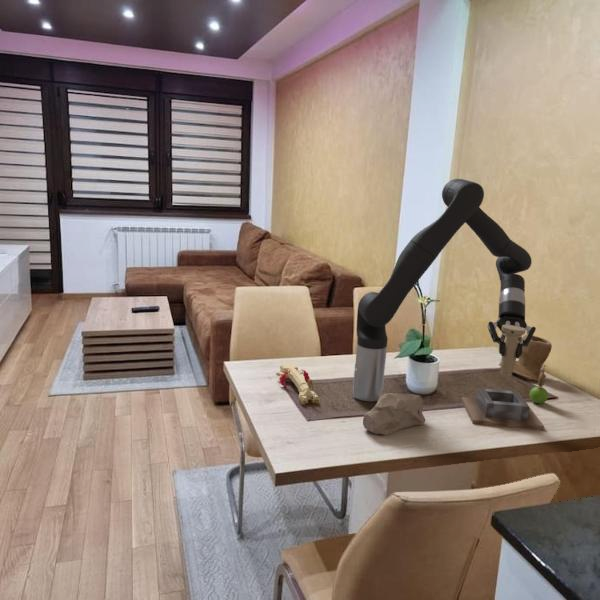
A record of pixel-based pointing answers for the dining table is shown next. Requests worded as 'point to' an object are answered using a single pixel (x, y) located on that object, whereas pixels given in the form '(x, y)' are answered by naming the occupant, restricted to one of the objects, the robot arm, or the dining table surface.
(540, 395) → the green ball on stick
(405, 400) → the decorative stone
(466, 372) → the dining table surface
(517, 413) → the socket block
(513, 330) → the handle
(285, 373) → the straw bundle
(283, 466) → the dining table surface
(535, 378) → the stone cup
